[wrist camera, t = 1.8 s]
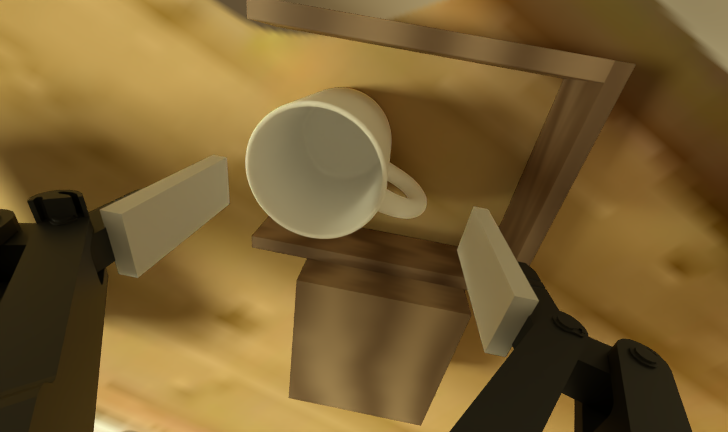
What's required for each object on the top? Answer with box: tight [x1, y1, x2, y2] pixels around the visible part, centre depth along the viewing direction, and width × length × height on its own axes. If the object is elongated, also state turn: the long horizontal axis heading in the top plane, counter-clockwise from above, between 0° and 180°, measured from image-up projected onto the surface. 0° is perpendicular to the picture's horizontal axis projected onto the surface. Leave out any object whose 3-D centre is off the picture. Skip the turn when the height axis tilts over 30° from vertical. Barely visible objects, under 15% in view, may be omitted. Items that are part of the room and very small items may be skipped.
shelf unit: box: [247, 0, 636, 426], centre depth 26 cm, size 23×34×8 cm
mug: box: [245, 87, 427, 239], centre depth 22 cm, size 12×8×10 cm
